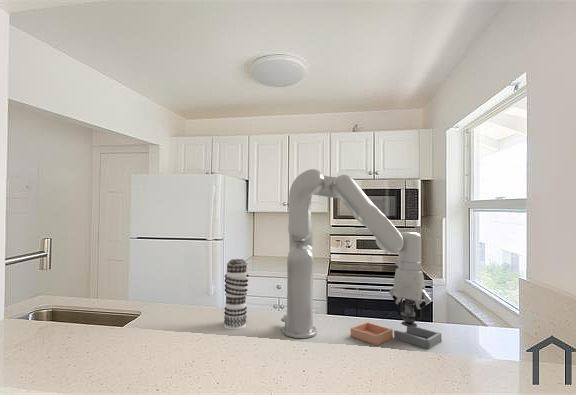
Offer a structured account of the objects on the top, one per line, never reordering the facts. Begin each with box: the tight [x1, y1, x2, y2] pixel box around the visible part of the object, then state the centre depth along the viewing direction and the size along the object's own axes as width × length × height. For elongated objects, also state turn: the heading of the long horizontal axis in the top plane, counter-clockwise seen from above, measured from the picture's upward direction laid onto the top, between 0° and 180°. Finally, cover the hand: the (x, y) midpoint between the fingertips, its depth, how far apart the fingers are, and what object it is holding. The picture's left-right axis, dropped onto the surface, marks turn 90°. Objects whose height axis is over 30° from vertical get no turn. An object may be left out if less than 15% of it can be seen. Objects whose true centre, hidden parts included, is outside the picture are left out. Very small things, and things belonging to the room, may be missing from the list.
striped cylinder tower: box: [223, 258, 249, 331], centre depth 120 cm, size 9×9×25 cm
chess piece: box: [400, 299, 418, 327], centre depth 111 cm, size 6×6×12 cm
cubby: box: [393, 326, 442, 350], centre depth 109 cm, size 12×10×2 cm
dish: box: [350, 321, 394, 347], centre depth 110 cm, size 10×10×3 cm
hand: (409, 316), depth 111 cm, fingers closed on chess piece, 5 cm apart
